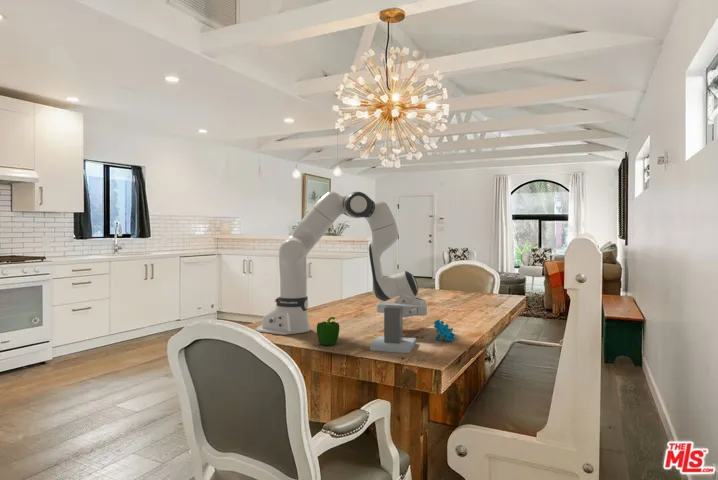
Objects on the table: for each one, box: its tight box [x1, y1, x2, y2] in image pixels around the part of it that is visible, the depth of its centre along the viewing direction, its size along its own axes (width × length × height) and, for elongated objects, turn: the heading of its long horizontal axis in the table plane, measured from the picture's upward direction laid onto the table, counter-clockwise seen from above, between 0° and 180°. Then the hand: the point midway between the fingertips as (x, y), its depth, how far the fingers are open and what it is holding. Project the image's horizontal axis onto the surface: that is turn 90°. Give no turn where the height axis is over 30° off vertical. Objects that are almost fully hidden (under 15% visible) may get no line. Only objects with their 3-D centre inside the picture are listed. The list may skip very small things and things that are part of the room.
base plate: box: [369, 335, 417, 354], centre depth 162 cm, size 14×14×6 cm
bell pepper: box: [316, 316, 340, 346], centre depth 166 cm, size 8×8×10 cm
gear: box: [433, 319, 456, 343], centre depth 174 cm, size 11×6×10 cm
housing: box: [383, 305, 404, 344], centre depth 162 cm, size 6×6×12 cm
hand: (398, 311), depth 173 cm, fingers open, 8 cm apart
